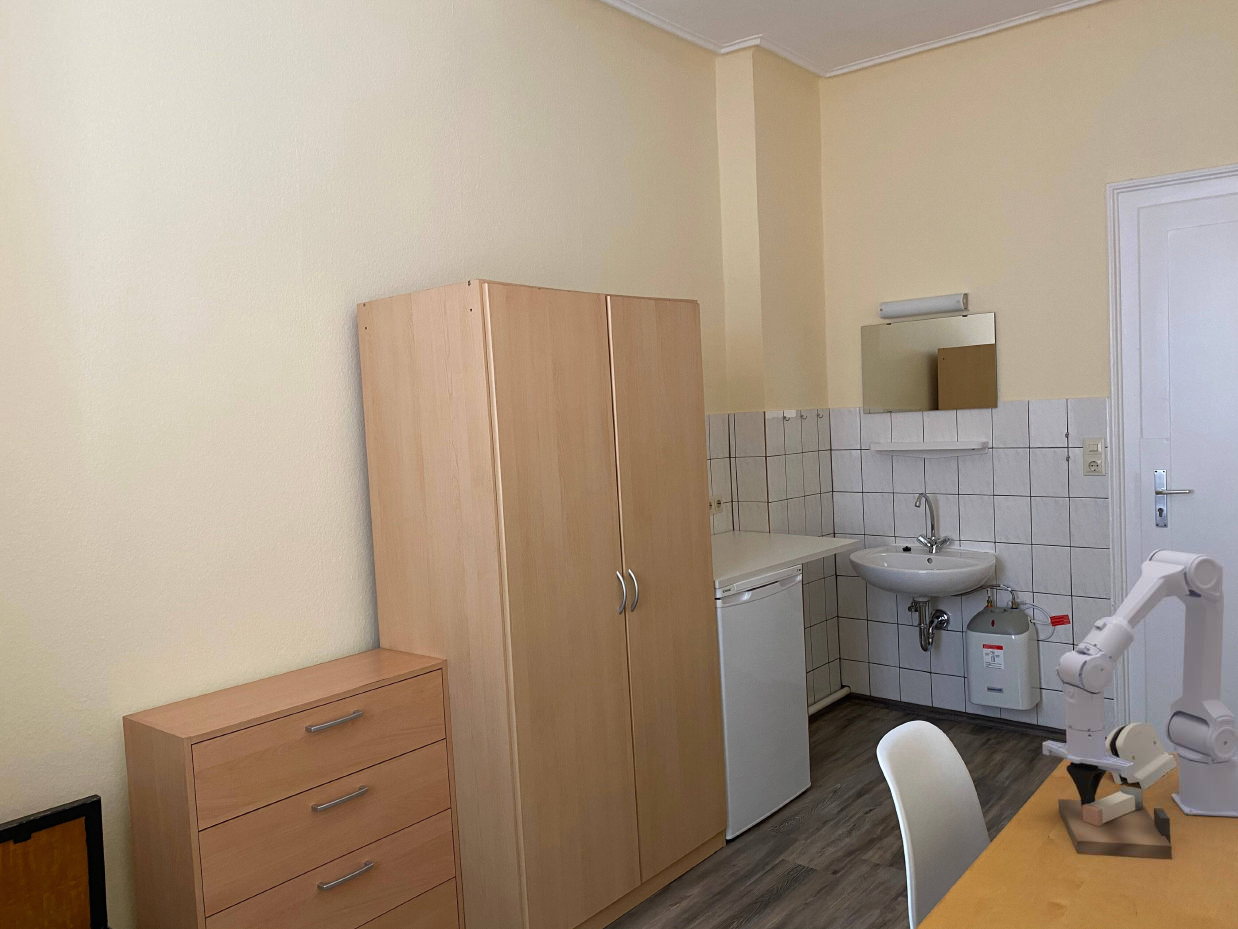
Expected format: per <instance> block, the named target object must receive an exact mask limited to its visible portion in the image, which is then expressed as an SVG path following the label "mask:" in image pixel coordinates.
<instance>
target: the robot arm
mask: <svg viewBox="0 0 1238 929" xmlns="http://www.w3.org/2000/svg"><path fill="white" fill-rule="evenodd" d="M1223 571H1224V568H1223V566H1222V565H1221V564H1220V563H1219V562H1218V561H1217V560H1216V559H1215V558H1213V557H1212V555H1209V554H1205V553H1190V552H1185V551H1184V552H1183V551H1182V552H1181V551H1174V550H1169V549H1164V548H1158V549H1155V550H1153V551H1152V552H1151V553H1150V554H1149V555H1148V557H1147V559H1146V560H1145V561H1144V562H1143V563H1142V564H1141V565H1140V573H1141V576H1140V577H1139V579H1138V580H1137V581H1136V583H1135V585H1134V586H1133V587H1132V589H1131V590H1130V592H1129V593H1128V595H1126V597H1125V599H1124V600H1123V601H1122V603H1121V605H1120V606H1119V608H1117V610H1116V612H1114V614H1113V616H1106V617H1105V616H1104V617H1101V618H1100V619H1098V620H1097V621H1096V622H1095V623H1094V624H1093V626H1094V627H1093V628H1092V629H1091V630H1090V632H1088V634H1087V635H1086V636H1085V637H1084V639H1083V640H1082V641H1081V642H1080V643H1079V644H1078V645H1077V647H1076V648H1075V650H1071V651H1067V652H1066V653H1065V654H1063V655H1061V657H1060V658H1059V660H1058V661H1057V662H1058V663H1057V667H1055V668H1054V672H1055V676H1056V678H1057V680H1058V681H1059V682H1060V684H1061V688H1062V689H1061V691H1062V693H1063V694H1064V710H1065V712H1064V713H1065V731H1066V733H1065V735H1066V743H1064V742H1058V741H1053V740H1050V739H1049V740H1046V741H1043V742H1042V754H1043V755H1046V756H1055V757H1058V758H1061V759H1065V760H1067V761H1068V762H1070V763H1069V765H1066V772H1067V773H1068V774H1069V776H1070V777H1071V780H1072V781H1073V784H1074V785H1075V787H1076V789H1077V792H1078V796H1079V797H1080V800H1081V806H1082V809H1083V805H1085V804H1090V803H1092V802H1095V801H1096V794H1097V792H1098V788H1099V785H1100V783H1101V781H1102V779H1103V778H1104V776H1105V774H1106V772H1107V771H1108V772H1111V773H1112V772H1114V773H1117V774H1121V776H1122V777H1125V778H1128V777H1131V776H1133V775H1134V764H1133V763H1131V762H1127V761H1125V760H1122V759H1120V758H1118V757H1116V756H1113V755H1111V754H1109V753H1107V752H1106V743H1105V741H1106V727H1105V726H1106V724H1105V720H1106V719H1105V701H1104V699H1105V696H1104V690H1106V689H1107V687H1109V686H1110V684H1111V683H1112V680H1113V672H1114V670H1115V666H1116V663H1117V661H1119V659H1120V658H1121V657H1122V656H1123V654H1124V653H1125V652H1126V651H1127V650H1128V648H1129V647H1130V646H1131V644H1133V642H1134V641H1135V637H1134V636H1135V635H1134V631H1133V630H1134V629H1135V628H1136V627H1137V626H1138V625H1139V623H1141V622H1142V620H1143V619H1144V618H1145V617H1147V615H1148V614H1149V613H1150V612H1152V610H1153V609H1154V608H1155V607H1156V606H1157V605H1158V604H1160V602H1161V601H1162V600H1163V599H1164V598H1170V597H1176V598H1177V599H1178V600H1180V602H1182V603H1183V604H1184V606H1185V611H1184V613H1185V614H1184V617H1185V618H1184V641H1183V642H1184V644H1183V670H1182V695H1181V696H1180V697H1178V698H1177V699H1175V700H1174V701H1172V702H1171V703H1170V704H1169V705H1170V708H1169V709H1170V710H1169V715H1168V717H1167V719H1166V721H1165V724H1164V733H1165V736H1166V738H1167V740H1168V741H1169V742H1170V743H1171V744H1172V745H1173V751H1175V752H1177V755H1176V756H1177V772H1178V776H1177V777H1178V793H1172V794H1171V797H1172V799H1173V800H1174V802H1175V803H1176V804H1177V805H1178V807H1179V808H1180V809H1181V811H1182V812H1183V814H1185V815H1192V816H1195V815H1196V816H1211V817H1213V816H1214V817H1216V816H1217V817H1231V818H1232V817H1237V818H1238V756H1235V755H1236V753H1237V751H1238V732H1237V729H1236V717H1235V715H1234V714H1233V713H1232V712H1231V710H1229V708H1227V706H1226V705H1225V704H1224V703H1223V702H1222V701H1221V692H1222V691H1221V689H1222V688H1221V685H1222V665H1223V664H1222V658H1223V656H1222V655H1223V635H1224V633H1223V632H1224V604H1225V596H1224V592H1223V591H1224V590H1223V579H1224V578H1223V575H1224V574H1223V573H1224V572H1223Z"/></svg>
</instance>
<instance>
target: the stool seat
mask: <svg viewBox="0 0 1238 929" xmlns="http://www.w3.org/2000/svg"><path fill="white" fill-rule="evenodd" d="M1057 804H1058V812H1059V815H1060V817H1061V819H1062V820H1063V823H1064V825H1065V828H1066V830H1067V832H1068V835H1069V837H1070V839H1071V841H1072V844H1073V845H1074V847H1075V850H1076V852H1077V854H1085V855H1100V856H1114V857H1116V856H1117V857H1133V858H1134V857H1135V858H1152V859H1168V860H1172V859H1173V854H1172V852H1173V851H1172V844H1171V843H1172V842H1171V818H1170V817H1169V816H1168V813H1166V811H1165V810H1164V809H1163V808H1162V807H1153V817H1152V815H1151V813H1150V812H1149V811H1148V809H1147V808H1146V806H1145V805H1144V804H1143V808H1142V809H1139V810H1133V811H1131V812H1129V813H1126V814H1124V815H1122V816H1119V817H1117V818H1115V819H1112V820H1110V821H1107V822H1105V823H1103V825H1101V826H1096V825H1093V824H1090V823H1087V822H1084V821H1083V809H1082V806H1081V799H1063V798H1061V799H1060V798H1058V799H1057Z"/></svg>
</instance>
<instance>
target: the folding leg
mask: <svg viewBox="0 0 1238 929" xmlns="http://www.w3.org/2000/svg"><path fill="white" fill-rule="evenodd" d="M1143 801H1144V800H1143V790H1142V789H1140V788H1137V787H1133V786H1123V787H1121V788H1120V790H1119V791H1118V792H1115V793H1112V794H1109V795H1108V796H1105V797H1103V798H1100V799H1097V800H1095V802H1092V803H1090V804H1085V805H1083V821H1084V822H1087V823H1090V824H1093V825H1096V826H1101V825H1103V823H1105V822H1107V821H1110V820H1112V819H1115V818H1117V817H1119V816H1122V815H1124V814H1126V813H1129V812H1131V811H1133V810H1139V809H1142V808H1143V805H1144V804H1143V803H1144V802H1143Z"/></svg>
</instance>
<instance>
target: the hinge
mask: <svg viewBox="0 0 1238 929" xmlns="http://www.w3.org/2000/svg"><path fill="white" fill-rule="evenodd" d="M1105 743H1106V752H1107V753H1109V754H1111V755H1113V756H1116V757H1118V758H1120V759H1122V760H1125V761H1127V762H1131V763H1133V764H1134V775H1133V776H1131V777H1128V778H1125V777H1122V776H1121V774H1117V773H1114V772H1111V775H1112V777H1113V778H1112V779H1113V780H1114V783H1115V784H1116V783H1117V784H1116V785H1122V784H1124V783H1125V782H1127V783H1128V784H1132V783H1139V785H1140V788H1141V790H1142V791H1143V790H1144V791H1145V790H1147V789H1148V788H1150V787H1151V786H1153V785H1154V783H1156V782H1158V781H1159V780H1161V778H1163V777H1164V776H1165V775H1166V773H1167V772H1168V773H1169V772H1170V771H1172V770H1173V769H1174V768H1175V767H1178V762H1177V761H1176V759H1175V757H1174V756H1173V755H1172V754H1171V755H1168V754H1170V753H1168V752H1167V751H1166V749H1165V748H1164V745H1163V743H1162V741H1161V739H1160V737H1159V735H1158V733H1157V731H1156V729H1155V726H1154V725H1153V724H1152V723H1150V722H1132V723H1125V724H1122V725H1121V726H1118V727H1116V728H1114V729H1112V731H1111V732H1110V733H1109V734H1108V736H1107V737H1106V738H1105ZM1162 753H1164V754H1162ZM1171 769H1172V770H1171ZM1168 773H1167V774H1168ZM1163 775H1164V776H1163ZM1162 776H1163V777H1162ZM1158 779H1159V780H1158ZM1155 781H1156V782H1155ZM1149 786H1150V787H1149Z"/></svg>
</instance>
